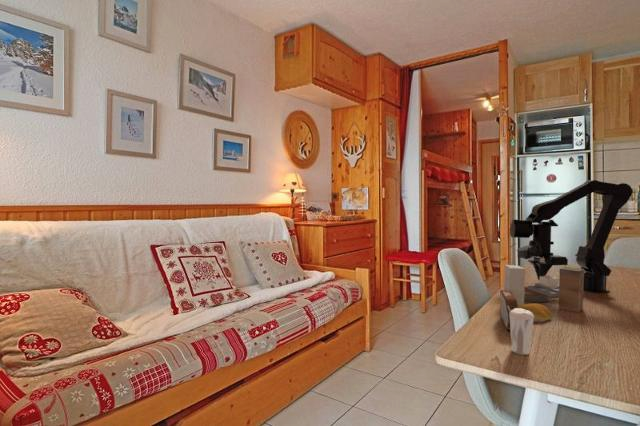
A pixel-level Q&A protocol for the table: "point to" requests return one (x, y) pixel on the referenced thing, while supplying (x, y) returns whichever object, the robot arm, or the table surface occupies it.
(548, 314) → the bread roll
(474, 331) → the table surface
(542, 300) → the coaster
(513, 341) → the milkshake
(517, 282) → the skincare box
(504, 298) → the tin
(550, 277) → the switch tab
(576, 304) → the handle block
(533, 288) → the switch board
